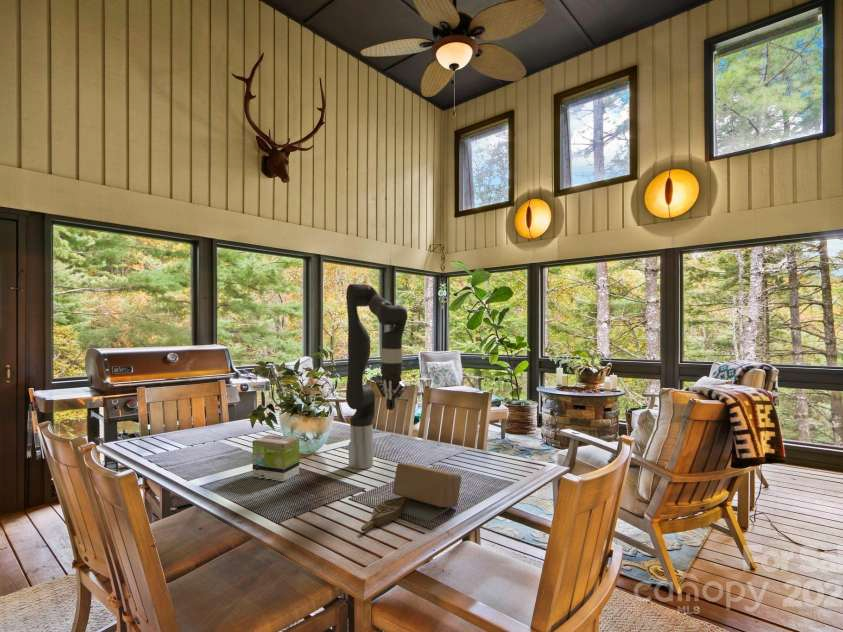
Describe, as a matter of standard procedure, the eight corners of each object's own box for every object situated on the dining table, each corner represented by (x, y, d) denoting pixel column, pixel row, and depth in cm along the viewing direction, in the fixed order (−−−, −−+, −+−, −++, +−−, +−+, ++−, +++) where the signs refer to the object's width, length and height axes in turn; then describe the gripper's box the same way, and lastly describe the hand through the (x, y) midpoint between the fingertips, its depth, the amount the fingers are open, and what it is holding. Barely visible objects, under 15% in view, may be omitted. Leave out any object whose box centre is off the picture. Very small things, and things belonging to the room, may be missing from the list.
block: (390, 493, 147) (441, 507, 136) (396, 462, 150) (447, 473, 138) (408, 494, 155) (458, 507, 143) (413, 464, 158) (463, 474, 146)
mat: (378, 506, 146) (378, 504, 146) (405, 492, 157) (405, 490, 157) (429, 521, 134) (429, 519, 134) (454, 505, 146) (454, 503, 146)
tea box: (251, 478, 174) (251, 440, 174) (268, 470, 183) (268, 434, 183) (284, 483, 168) (283, 443, 169) (300, 474, 178) (299, 436, 178)
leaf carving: (352, 532, 128) (352, 522, 128) (391, 501, 148) (391, 493, 148) (374, 537, 125) (374, 527, 125) (411, 505, 144) (411, 496, 144)
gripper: (412, 361, 160) (411, 410, 160) (384, 358, 168) (383, 405, 168) (399, 363, 154) (397, 414, 154) (370, 360, 162) (369, 408, 162)
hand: (390, 409), depth 161 cm, fingers closed
